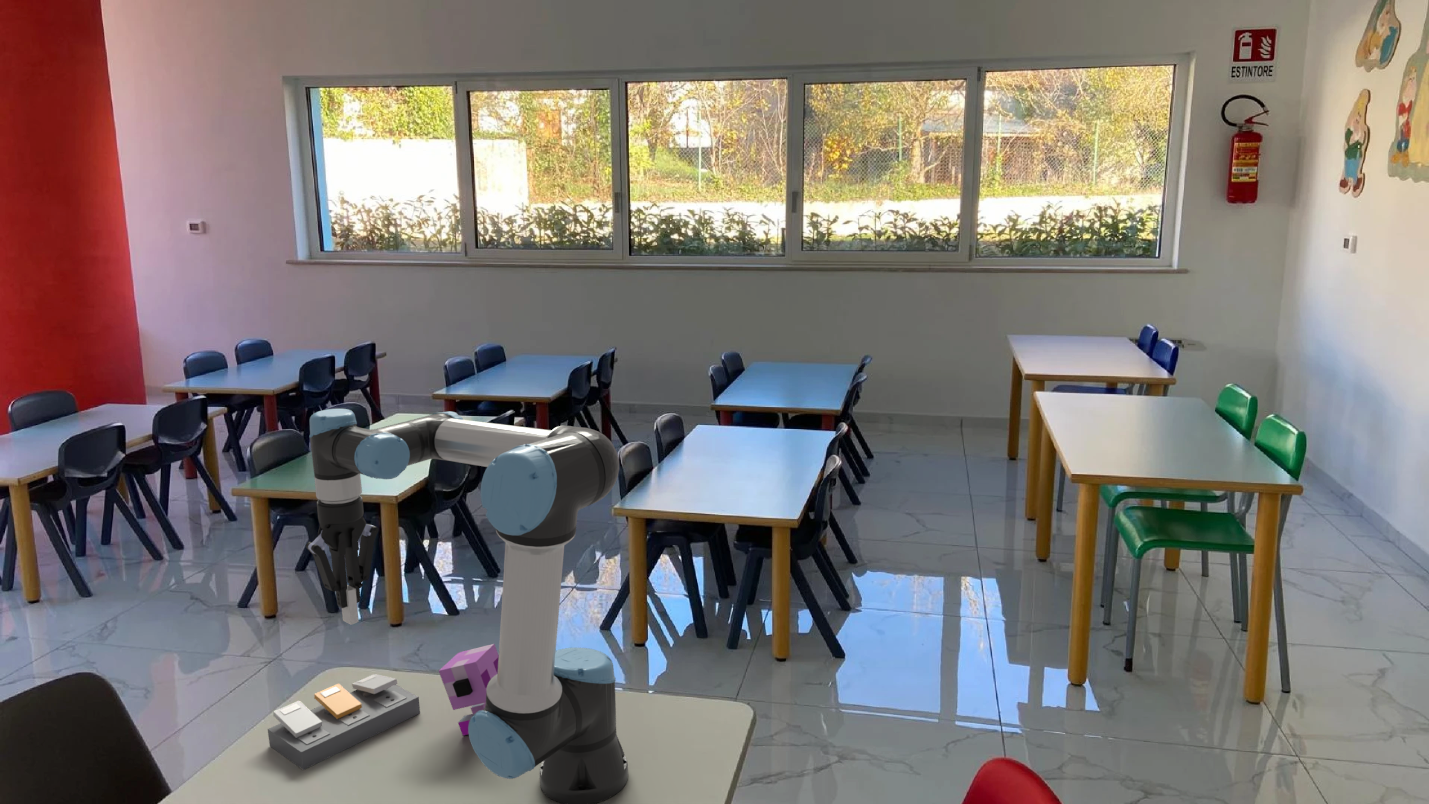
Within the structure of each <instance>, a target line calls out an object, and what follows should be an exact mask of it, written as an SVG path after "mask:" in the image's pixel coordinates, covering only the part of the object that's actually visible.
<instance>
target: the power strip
mask: <svg viewBox="0 0 1429 804" xmlns="http://www.w3.org/2000/svg"><path fill="white" fill-rule="evenodd" d="M349 693H350V694H351V695H352V696H354V697H355V698H356V699H357V700H358V701H359V702H360V703H362V708H360V709H358V710H356V711H354V712H352V713H349V714H347V715H345V716H343V717H341V718H339V719H337V718H335V717H334V716H333V715H332V714H331V713H330V712H329V711H328V710H327V709H326V708H325V707H323V706H322V705H321V704H320V705H319V706H317V707H315V708H312V709H309V710H310V711H311V712H312V713H313V714H315V715H316V716H317V717H318V718H319V719H320V720H321V721H322V726H321V727H319V728H317V729H315V730H312V731H310V732H308V733H306V734H304V735H301V736H299V737H297V738H296V737H295V736H294V735H293V734H292V733H291V732H290V731H288V730H287V729H286V728H285V727H284V726H283V725H282V724H281V723H280V722H279V723H278V724H276V725H273V726H271V727H269V728H267V733H268V734H267V735H268V742H269V747H270V748H272V749H274V751H276V752H277V753H279V754H280V755H281V756H283V757H285V759H287V760H289V761H290V762H291V763H292V764H294V765H296V766H297V767H298V768H300V769H301V770H304V771H305V770H306V769H309V768H310V767H312V766H315V765H317V764H318V763H321V762H323V761H325V760H327V759H328V758H331V757H333V756H335V755H337V754H339V753H341V752H343V751H346V750H348V749H349V748H351V747H353V746H355V745H357V744H359V743H361V742H364V741H366V740H369V738H372V737H374V736H376V735H378V734H380V733H382V732H385V731H386V730H388V729H390V728H392V727H394V726H397V725H399V724H400V723H402V722H405V721H407V720H410V719H411V718H413V717H414V716H417V715H419V714H421V709H420V708H421V707H420V697H419V696H418V695H417V694H415V693H413V692H411V691H409V690H407V689H405V688H403V687H402V686H401V685H400V686H399V685H398V684H396V685H393V686H391V687H389V688H387V689H385V690H382V691H380V692H378V693H376V694H372V693H369V692H365V691H361V690H357V689H354V690H353V691H350V692H349Z"/></svg>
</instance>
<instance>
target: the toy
mask: <svg viewBox="0 0 1429 804" xmlns="http://www.w3.org/2000/svg"><path fill="white" fill-rule="evenodd" d="M498 658H499V651H498V650H497V647H496V645H495V643H492V644H488V645H487V644H486V645H483V646H480V647H477V648H476V647H475V648H472V649H468V650H467V649H466V650H464V651H459V652H457V653H456V654H455V655H454V656H453V657H452V658H451V659H449V661H448V662H446V664H444V665H443V666H442V667H441V668H440V669H439V670H438V673H439V676H440V678H441V681H442V684H443V686H444V687H443V688H444V689H445V691H446V694H447V697H448V699H449V702H450V705H451V708H452V710H453V711H456V710H460V709H464V708H468V707H469V708H470V711H471V714H465V715H463V717H462V718H461V719H460V720H459V721H458V722H457V723H458V727H459V729H460V731H461V732H460V733H461V735H462V736H467V735H468V736H469V733H468V726H469V722H470V719H471V718H472V717H473V716H474V715H475V713H476V712H478V711H480V710H483V709H484V708H485V705H486V690H487V685H488V683H489V681H490V680H491V679H492V678H493V677H494V676H495V675H496V674H498Z"/></svg>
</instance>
